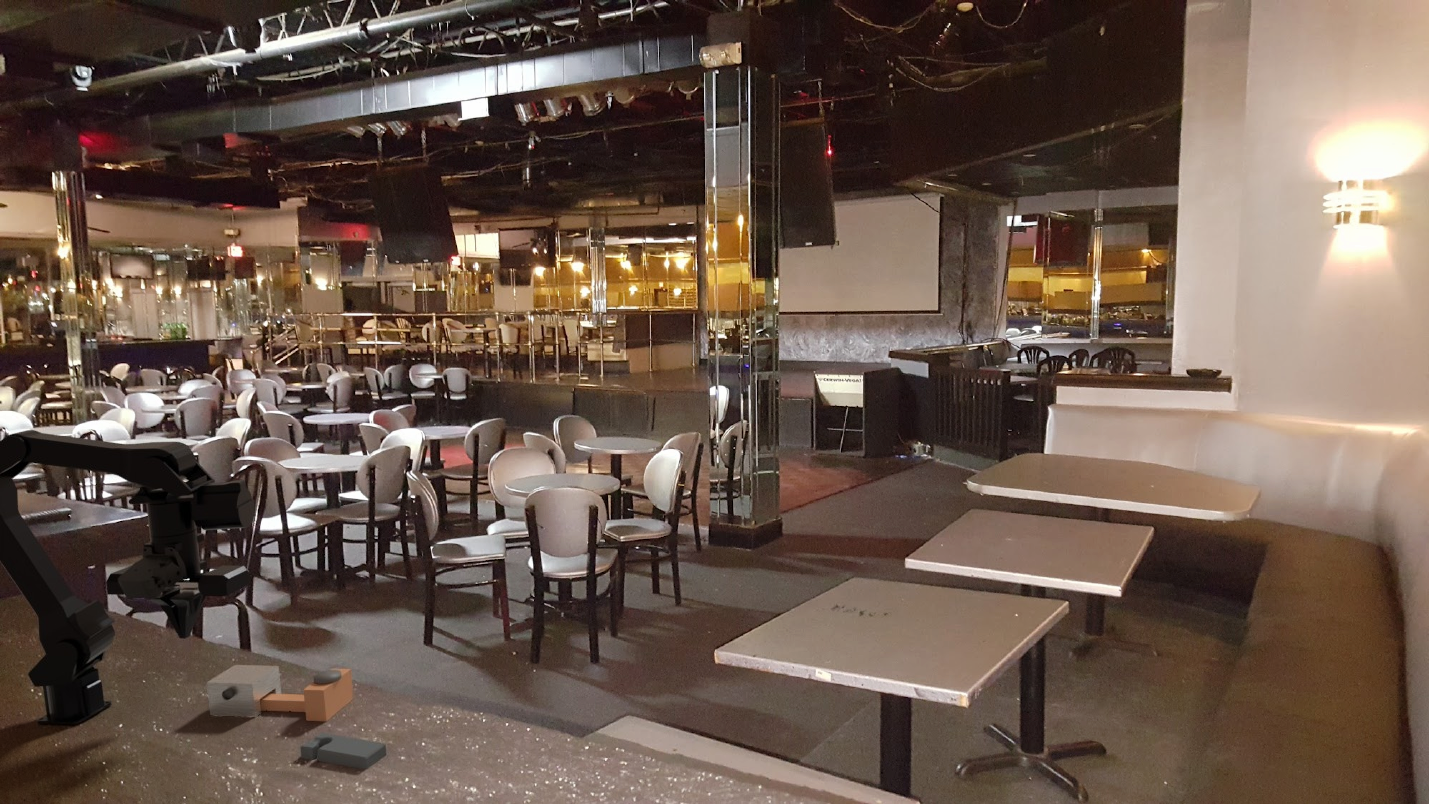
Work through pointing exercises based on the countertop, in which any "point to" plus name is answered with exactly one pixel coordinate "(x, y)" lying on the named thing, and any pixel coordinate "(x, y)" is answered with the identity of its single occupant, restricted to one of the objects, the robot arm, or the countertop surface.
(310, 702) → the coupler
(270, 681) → the grey cube with knob
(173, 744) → the countertop surface
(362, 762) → the bracket
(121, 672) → the countertop surface
